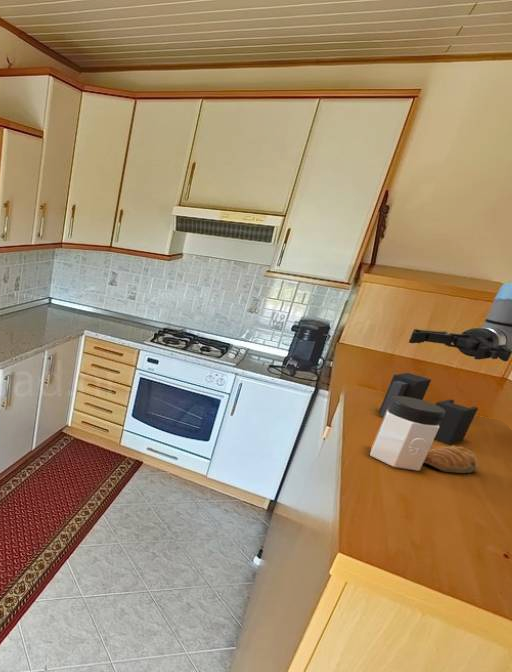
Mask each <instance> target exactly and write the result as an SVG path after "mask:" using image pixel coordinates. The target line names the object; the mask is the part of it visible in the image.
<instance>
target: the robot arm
mask: <svg viewBox="0 0 512 672" xmlns="http://www.w3.org/2000/svg"><path fill="white" fill-rule="evenodd" d="M425 342H426V343H434V344H441V345H442V344H443V345H444V346H446V347H449V348H456V349H457V350H458V351H459V352H460V353H461V354H462V355H465V356H467V357H473V358H474V360H478V361H479V360H487V359H492V360H497V359H500V360H501V361H503V362H509V359H510V358H511V356H512V282H506V283H503V284H502V285H501V286H500V288H499V290H498V292H497V294H496V295H495V297H494V298H493V302H492V304H491V307H490V308H489V311H488V314H487V316H486V318H485V320H484V322H483V324H482V326H481V327H475V328H469V329H466V330H465V331H463V332H461V333H455V332H448V331H446V330H445V331H444V330H443V331H439V330H427V329H418V328H413V331H412V333H411V335H410V338H409V341H408V343H410V344H421V343H422V344H423V343H425Z"/></svg>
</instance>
